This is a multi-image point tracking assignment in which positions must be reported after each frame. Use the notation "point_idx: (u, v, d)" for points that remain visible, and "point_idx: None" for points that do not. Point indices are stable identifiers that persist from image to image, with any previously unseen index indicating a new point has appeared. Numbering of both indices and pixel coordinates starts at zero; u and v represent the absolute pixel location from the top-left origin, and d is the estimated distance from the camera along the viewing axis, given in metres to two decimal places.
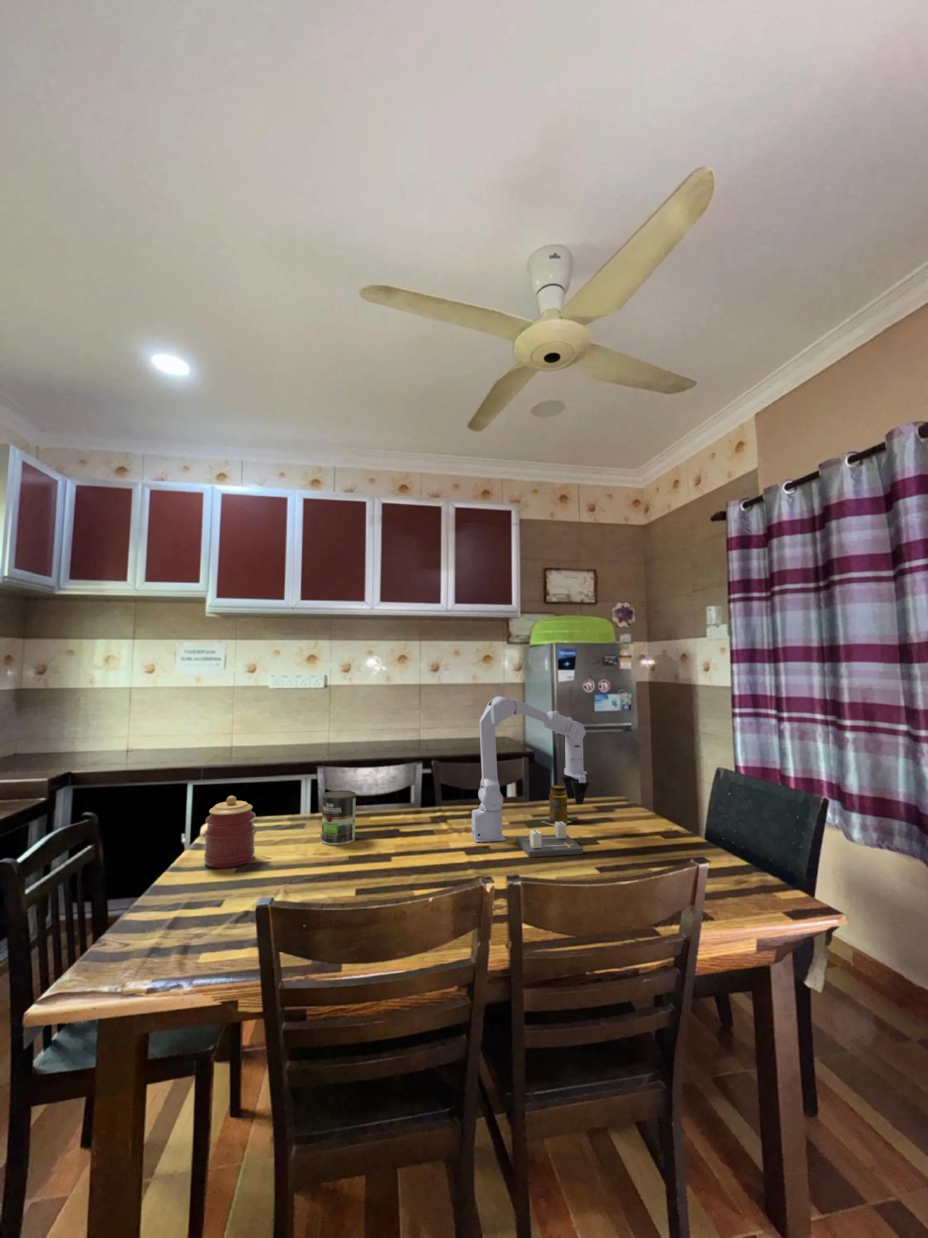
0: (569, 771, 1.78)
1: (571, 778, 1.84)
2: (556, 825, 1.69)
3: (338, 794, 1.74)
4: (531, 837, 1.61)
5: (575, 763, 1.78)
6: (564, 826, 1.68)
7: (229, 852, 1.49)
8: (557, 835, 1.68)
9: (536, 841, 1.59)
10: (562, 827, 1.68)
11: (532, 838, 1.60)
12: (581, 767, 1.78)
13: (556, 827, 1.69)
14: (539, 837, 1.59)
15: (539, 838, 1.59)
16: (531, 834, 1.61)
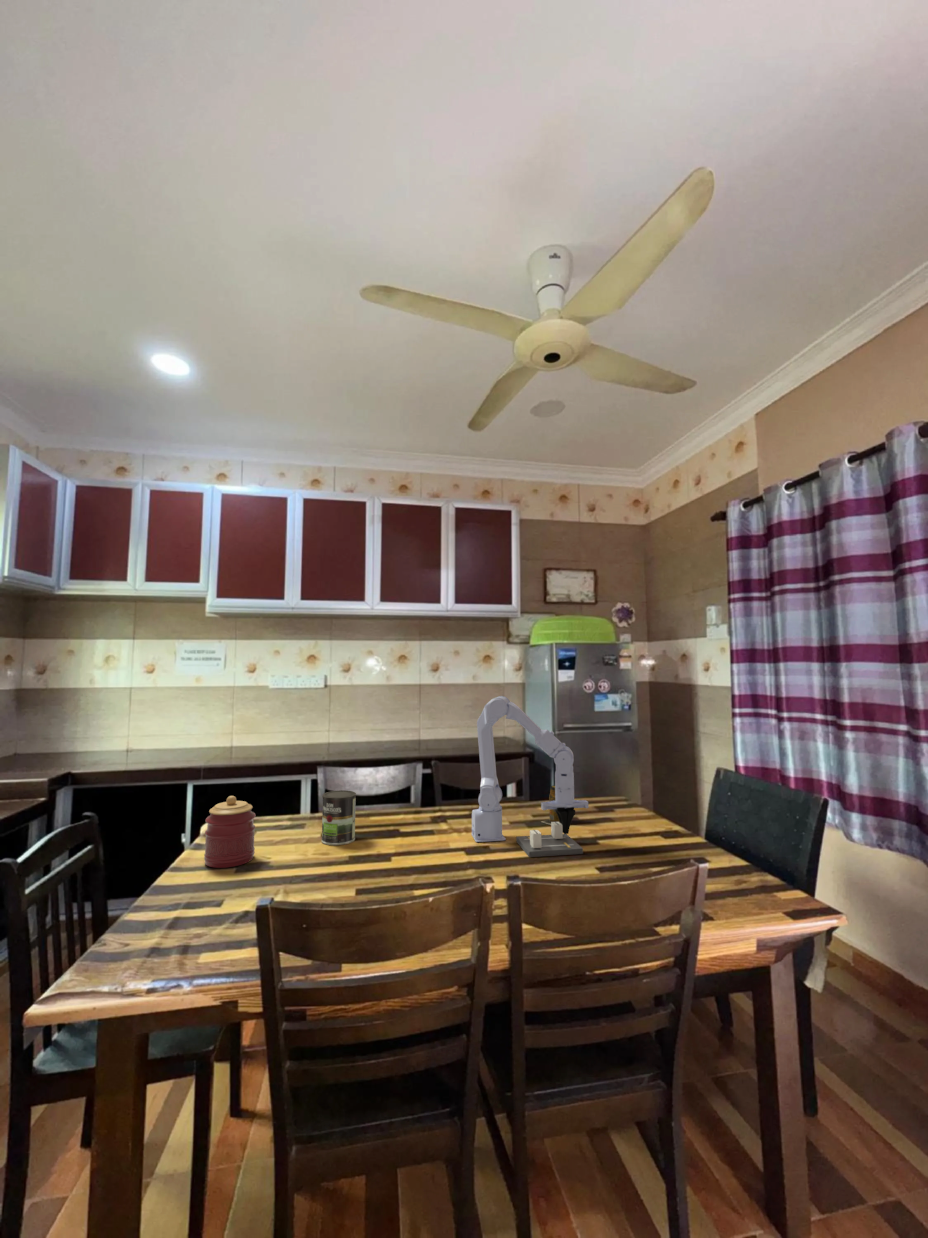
0: None
1: (565, 811, 1.70)
2: (552, 825, 1.69)
3: (338, 794, 1.74)
4: (531, 837, 1.61)
5: (555, 791, 1.70)
6: (560, 826, 1.68)
7: (229, 852, 1.49)
8: (553, 835, 1.68)
9: (536, 841, 1.59)
10: (559, 828, 1.67)
11: (532, 838, 1.60)
12: (558, 797, 1.68)
13: (552, 827, 1.69)
14: (539, 837, 1.59)
15: (539, 838, 1.59)
16: (531, 834, 1.61)
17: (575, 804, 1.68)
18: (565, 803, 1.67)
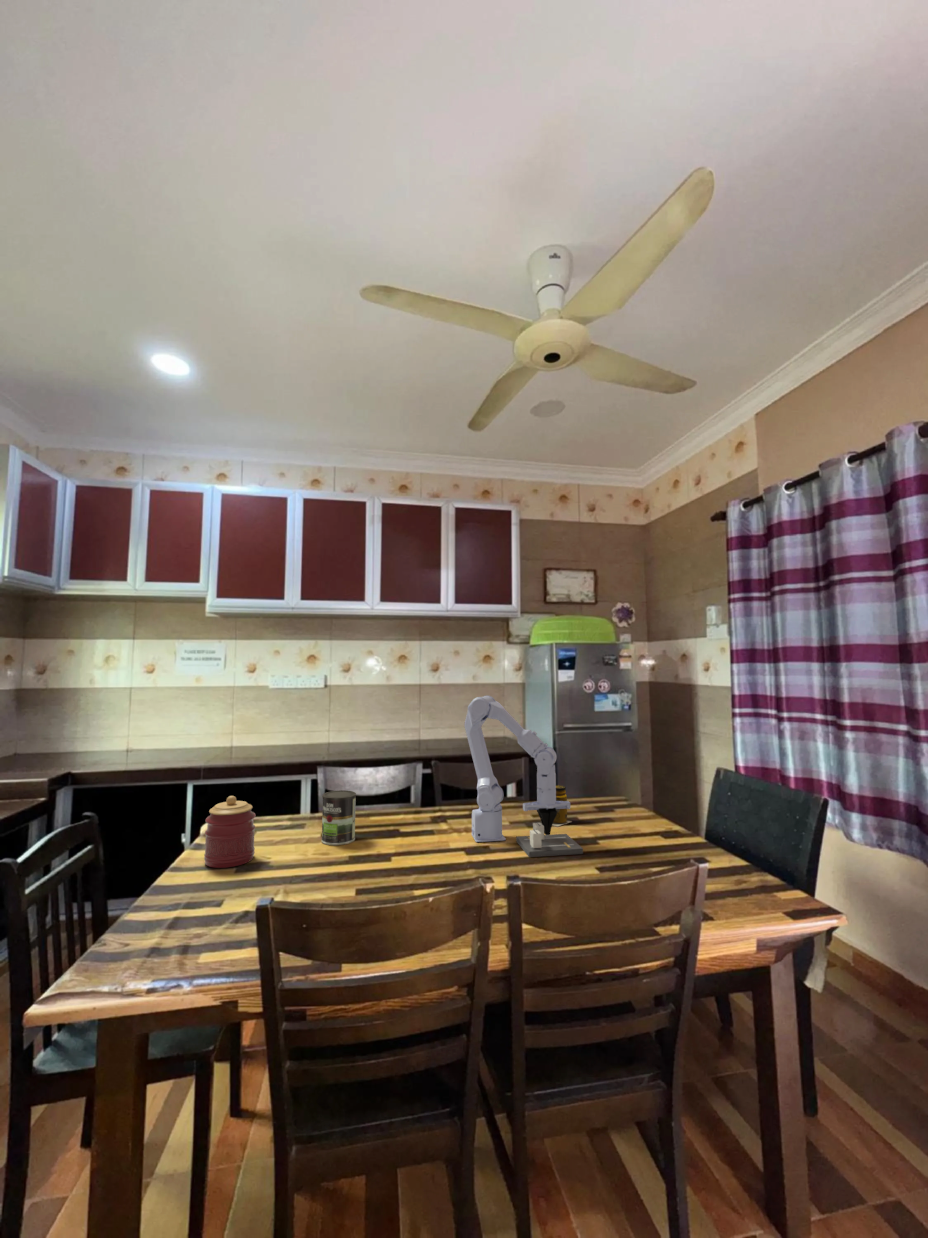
0: None
1: (547, 812, 1.69)
2: (534, 826, 1.68)
3: (338, 794, 1.73)
4: (531, 837, 1.61)
5: (537, 791, 1.70)
6: (542, 827, 1.67)
7: (229, 852, 1.49)
8: None
9: (536, 841, 1.59)
10: (540, 829, 1.66)
11: (532, 838, 1.60)
12: (540, 798, 1.68)
13: (534, 828, 1.68)
14: (539, 837, 1.59)
15: (539, 838, 1.59)
16: (531, 834, 1.61)
17: (557, 805, 1.67)
18: (546, 804, 1.66)
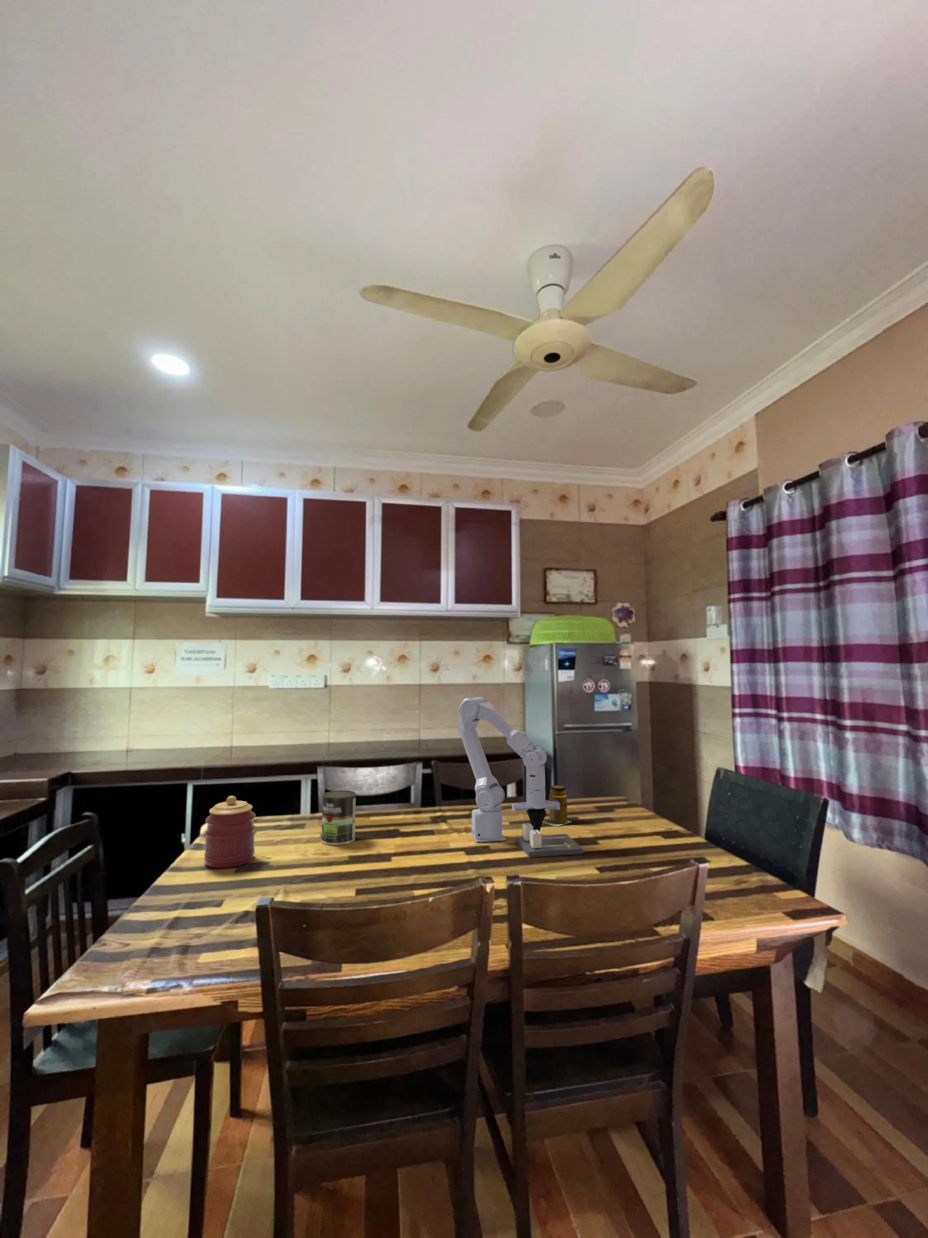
0: None
1: (536, 812, 1.68)
2: (523, 827, 1.68)
3: (338, 794, 1.74)
4: (531, 837, 1.61)
5: (526, 792, 1.69)
6: (531, 828, 1.66)
7: (229, 852, 1.49)
8: (524, 837, 1.67)
9: (536, 841, 1.59)
10: (529, 829, 1.66)
11: (532, 838, 1.60)
12: (529, 798, 1.67)
13: (523, 829, 1.68)
14: (539, 837, 1.59)
15: (539, 838, 1.59)
16: (531, 834, 1.61)
17: (546, 805, 1.67)
18: (536, 804, 1.66)
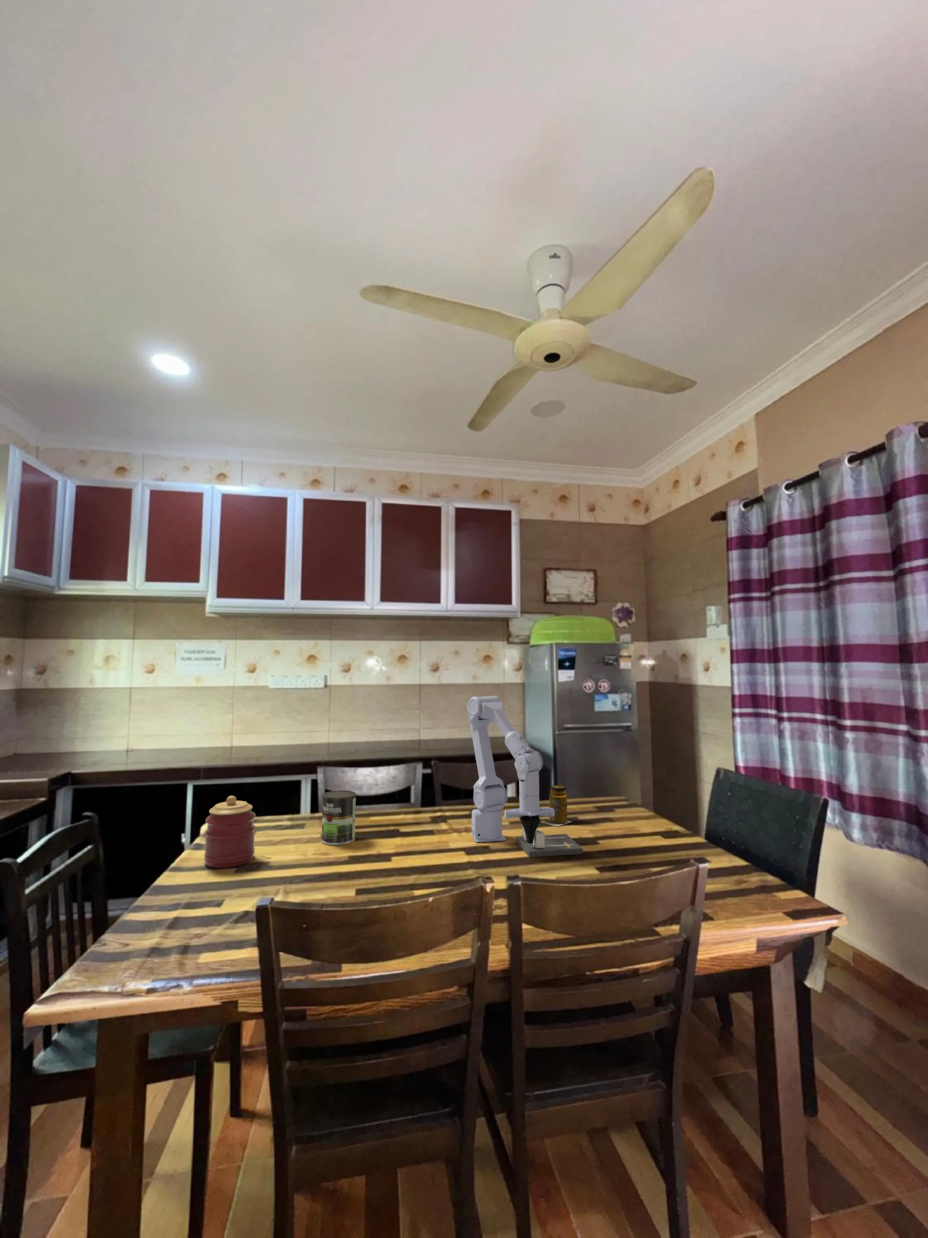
0: None
1: (530, 819, 1.61)
2: None
3: (338, 794, 1.74)
4: (534, 837, 1.61)
5: (519, 798, 1.61)
6: None
7: (229, 852, 1.49)
8: (524, 837, 1.67)
9: (539, 841, 1.59)
10: None
11: (535, 838, 1.60)
12: (522, 804, 1.59)
13: (523, 829, 1.68)
14: (543, 837, 1.59)
15: (542, 838, 1.59)
16: None
17: (540, 812, 1.59)
18: (529, 811, 1.58)
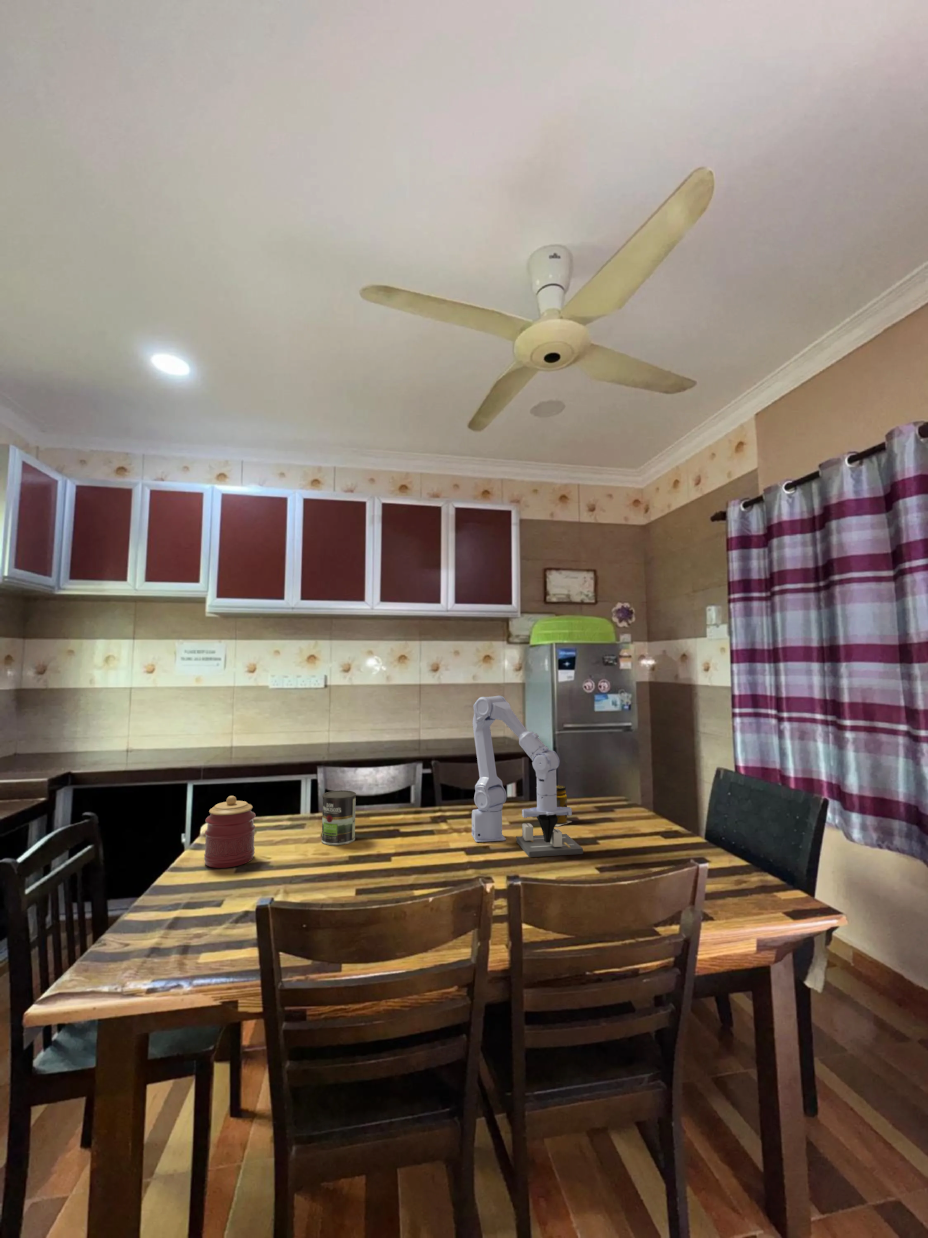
0: None
1: (547, 818, 1.62)
2: (523, 827, 1.68)
3: (338, 794, 1.74)
4: (552, 836, 1.62)
5: (537, 797, 1.62)
6: (531, 828, 1.66)
7: (229, 852, 1.49)
8: (524, 837, 1.67)
9: (557, 840, 1.60)
10: (529, 829, 1.66)
11: (553, 837, 1.61)
12: (540, 804, 1.60)
13: (523, 829, 1.68)
14: (560, 836, 1.60)
15: (560, 837, 1.60)
16: (552, 833, 1.62)
17: (557, 811, 1.60)
18: (547, 810, 1.59)
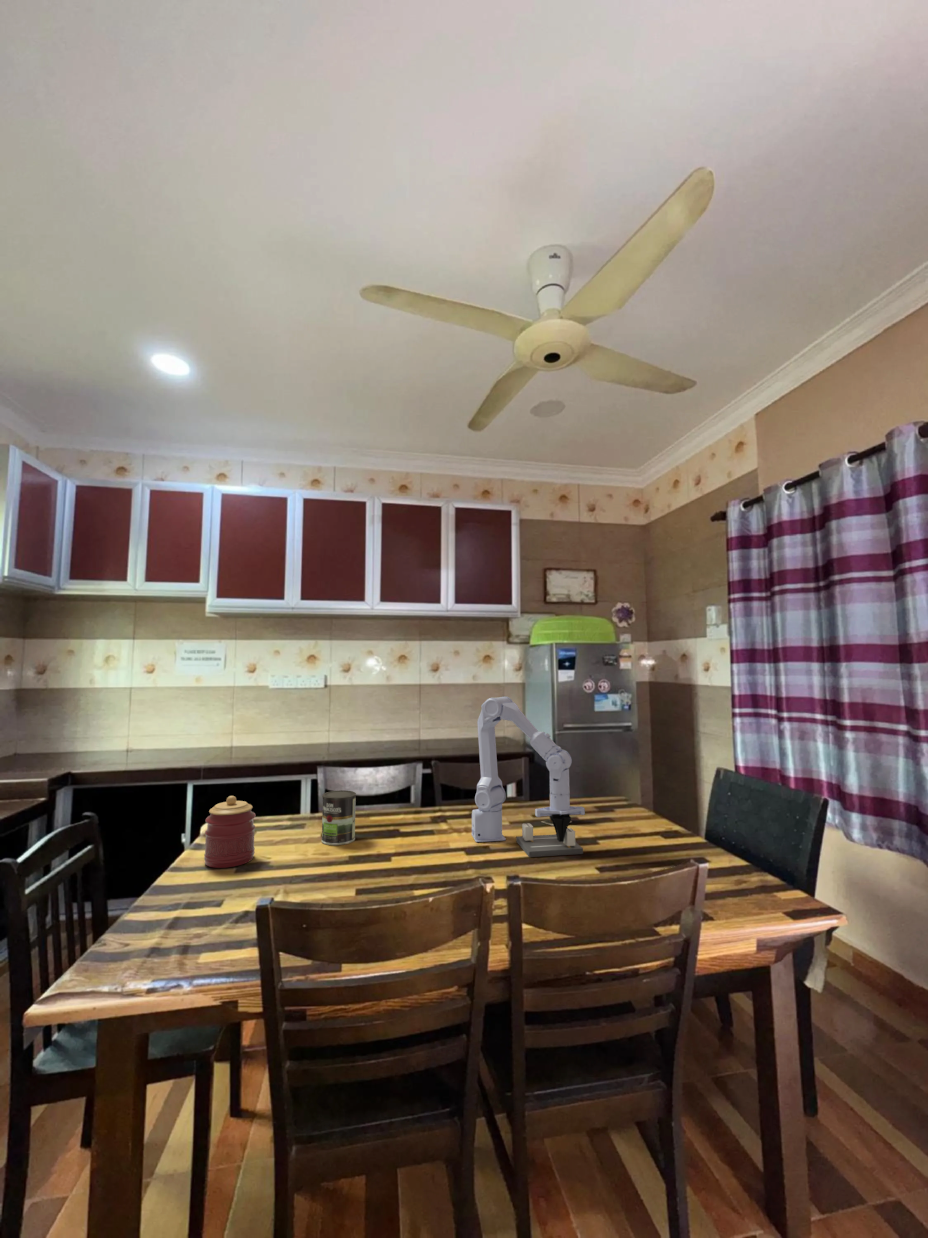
0: None
1: None
2: (523, 827, 1.68)
3: (338, 794, 1.73)
4: (565, 835, 1.62)
5: (550, 796, 1.63)
6: (531, 828, 1.66)
7: (229, 852, 1.49)
8: (524, 837, 1.67)
9: (570, 839, 1.61)
10: (529, 829, 1.66)
11: (566, 836, 1.61)
12: (553, 803, 1.61)
13: (523, 829, 1.68)
14: (573, 835, 1.61)
15: (573, 836, 1.61)
16: None
17: (571, 810, 1.61)
18: (560, 809, 1.60)
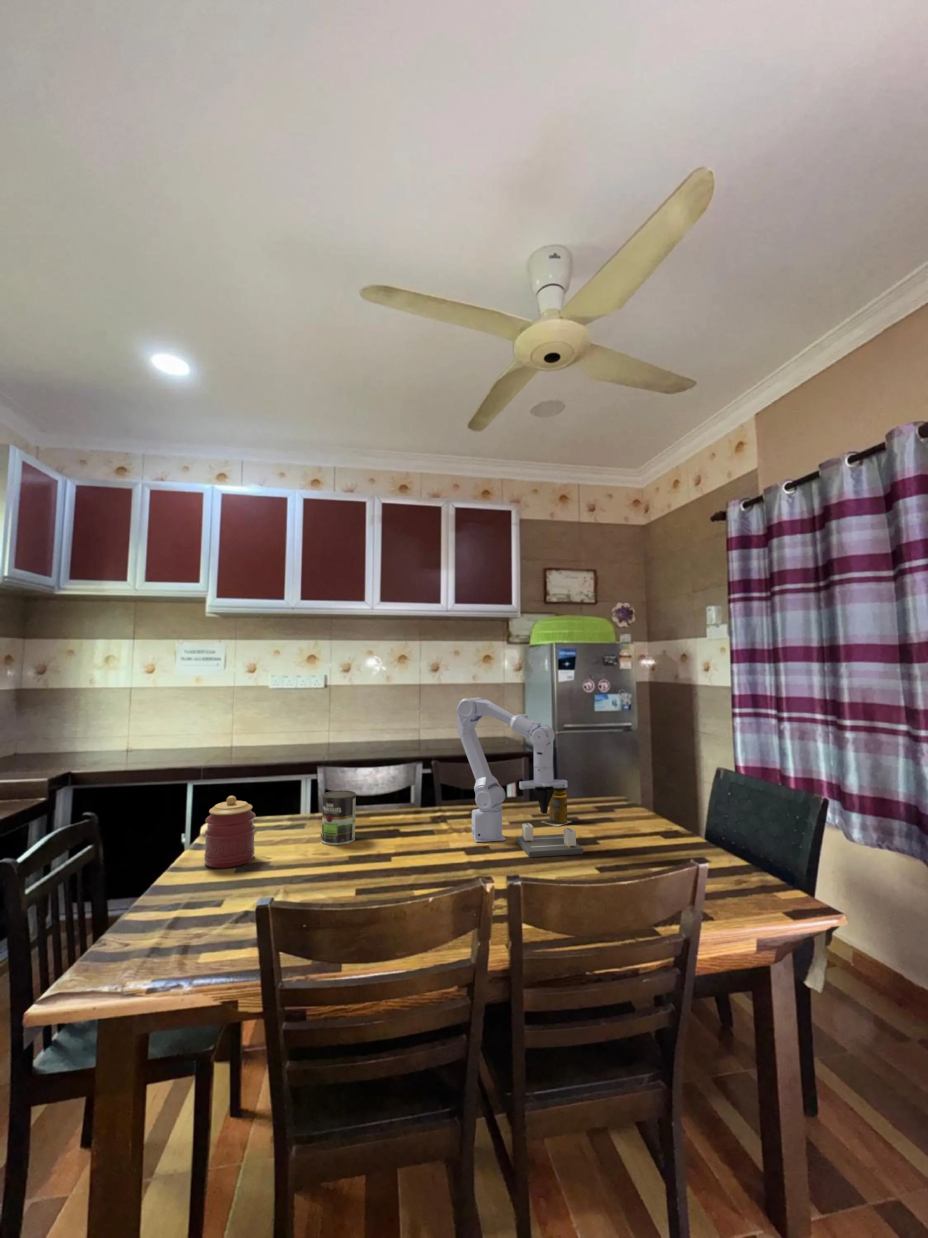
0: None
1: (544, 790, 1.67)
2: (523, 827, 1.68)
3: (338, 794, 1.74)
4: (565, 835, 1.62)
5: None
6: (531, 828, 1.66)
7: (229, 852, 1.49)
8: (524, 837, 1.67)
9: (571, 839, 1.61)
10: (529, 829, 1.66)
11: (566, 836, 1.61)
12: (537, 776, 1.65)
13: (523, 829, 1.68)
14: (574, 835, 1.61)
15: (573, 836, 1.61)
16: (565, 832, 1.62)
17: (554, 783, 1.65)
18: (543, 782, 1.64)
